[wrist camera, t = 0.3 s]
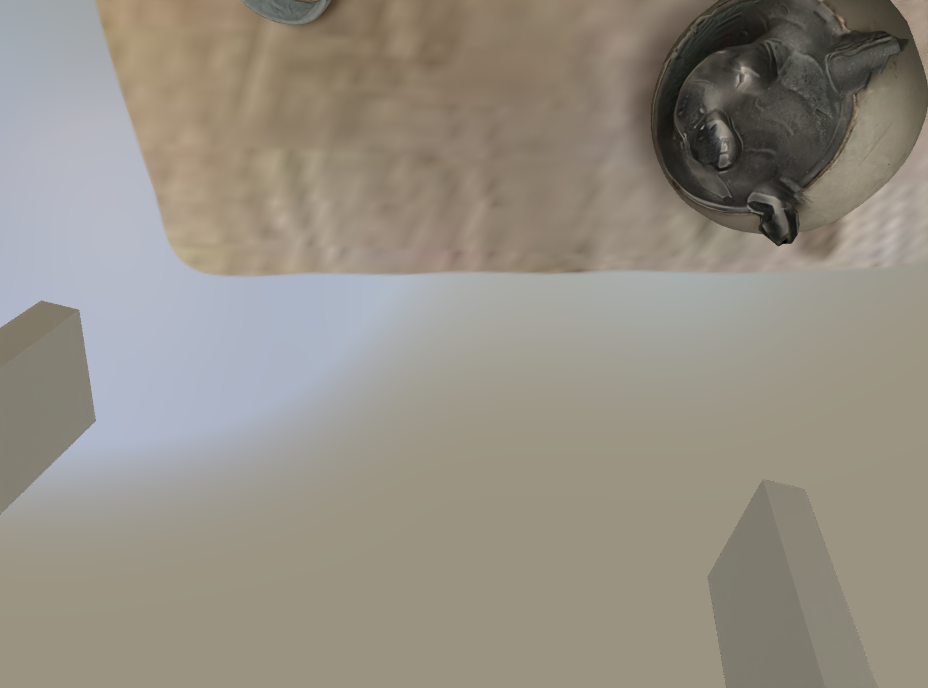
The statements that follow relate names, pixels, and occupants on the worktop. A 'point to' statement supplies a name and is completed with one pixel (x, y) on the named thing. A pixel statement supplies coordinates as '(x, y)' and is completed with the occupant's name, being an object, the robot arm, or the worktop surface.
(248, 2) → the ceramic mug
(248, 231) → the worktop surface
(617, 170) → the worktop surface
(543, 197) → the worktop surface
